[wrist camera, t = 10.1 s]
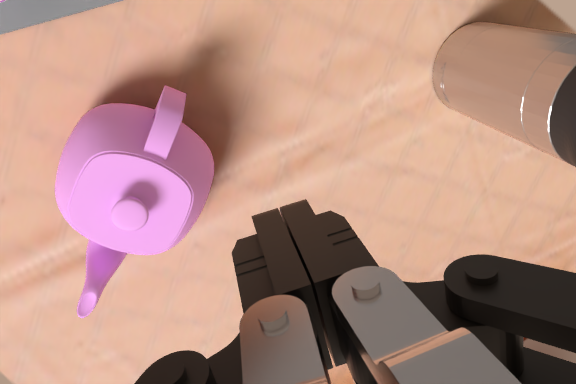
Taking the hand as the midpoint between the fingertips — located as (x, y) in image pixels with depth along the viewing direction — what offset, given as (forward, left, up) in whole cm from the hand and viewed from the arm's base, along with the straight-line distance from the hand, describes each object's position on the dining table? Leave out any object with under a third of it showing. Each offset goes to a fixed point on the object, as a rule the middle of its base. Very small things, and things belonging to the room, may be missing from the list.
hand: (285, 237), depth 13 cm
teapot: (+10, +9, -35) cm, 37 cm away
